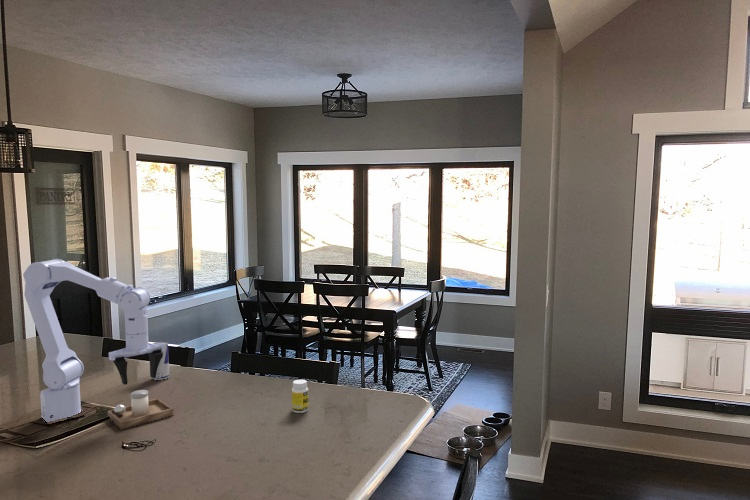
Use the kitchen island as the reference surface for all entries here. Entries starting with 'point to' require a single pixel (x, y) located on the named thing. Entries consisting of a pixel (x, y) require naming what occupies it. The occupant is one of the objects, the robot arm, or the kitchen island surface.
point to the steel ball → (120, 410)
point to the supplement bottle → (300, 396)
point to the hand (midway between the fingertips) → (139, 380)
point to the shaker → (139, 403)
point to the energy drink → (163, 365)
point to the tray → (155, 412)
